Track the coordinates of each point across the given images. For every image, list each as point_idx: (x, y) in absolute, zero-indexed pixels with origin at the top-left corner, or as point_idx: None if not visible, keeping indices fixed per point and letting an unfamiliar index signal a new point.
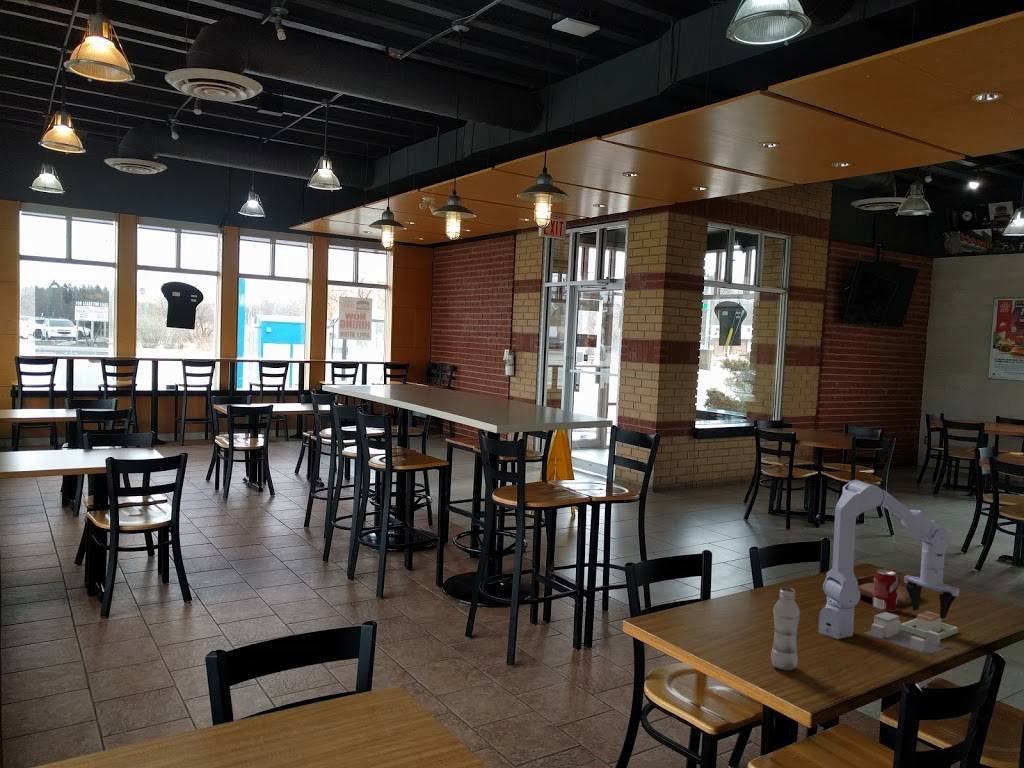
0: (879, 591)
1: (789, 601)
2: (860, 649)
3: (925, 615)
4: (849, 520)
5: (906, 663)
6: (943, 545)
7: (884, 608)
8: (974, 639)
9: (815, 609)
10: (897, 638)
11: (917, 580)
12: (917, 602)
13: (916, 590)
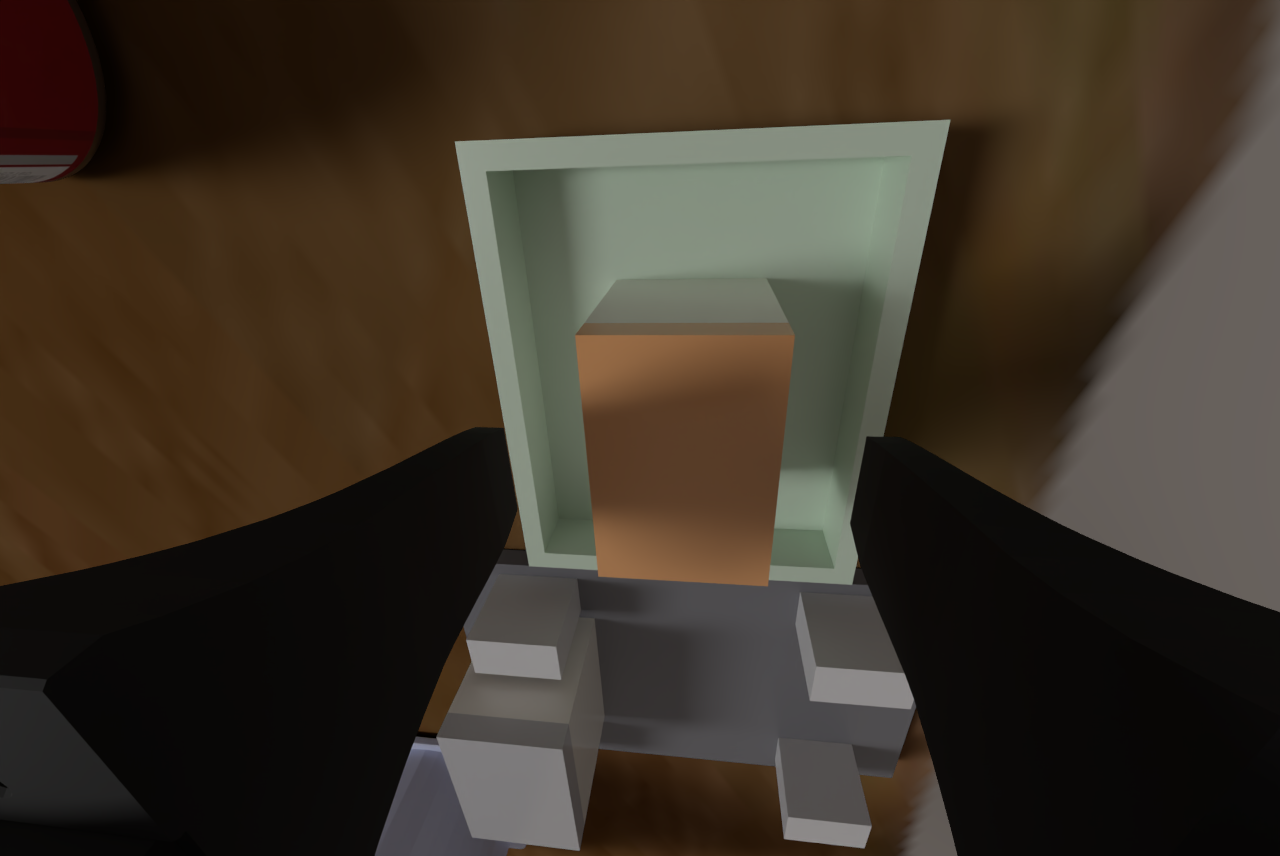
0: None
1: None
2: (618, 842)
3: (667, 527)
4: None
5: (832, 851)
6: None
7: (61, 164)
8: (1120, 56)
9: (52, 573)
10: (647, 690)
11: None
12: (460, 523)
13: (334, 780)
